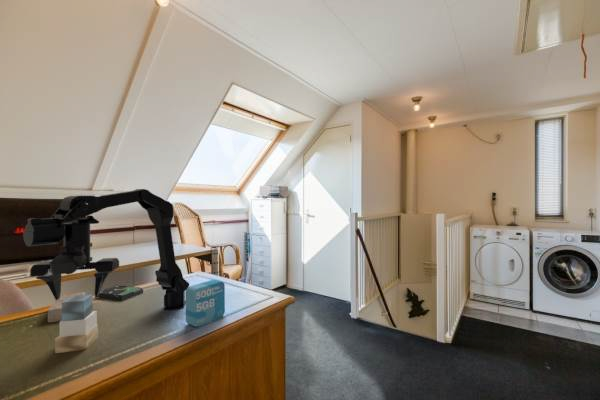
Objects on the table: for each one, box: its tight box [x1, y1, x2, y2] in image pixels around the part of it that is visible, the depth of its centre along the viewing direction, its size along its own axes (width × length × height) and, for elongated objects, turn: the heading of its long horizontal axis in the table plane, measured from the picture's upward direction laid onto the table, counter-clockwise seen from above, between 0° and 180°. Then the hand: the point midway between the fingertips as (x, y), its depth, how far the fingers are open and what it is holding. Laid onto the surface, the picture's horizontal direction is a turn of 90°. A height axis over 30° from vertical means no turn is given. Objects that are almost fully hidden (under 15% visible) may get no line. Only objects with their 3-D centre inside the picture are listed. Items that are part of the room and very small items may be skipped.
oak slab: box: [54, 323, 99, 354], centre depth 76 cm, size 7×7×4 cm
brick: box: [47, 291, 87, 323], centre depth 100 cm, size 17×8×5 cm, turn 31°
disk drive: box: [97, 284, 144, 302], centre depth 117 cm, size 10×3×15 cm
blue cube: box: [61, 294, 94, 321], centre depth 76 cm, size 5×5×5 cm
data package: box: [185, 279, 226, 328], centre depth 91 cm, size 12×4×12 cm, turn 144°
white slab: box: [59, 310, 98, 337], centre depth 77 cm, size 6×6×4 cm
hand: (77, 297), depth 76 cm, fingers open, 9 cm apart
